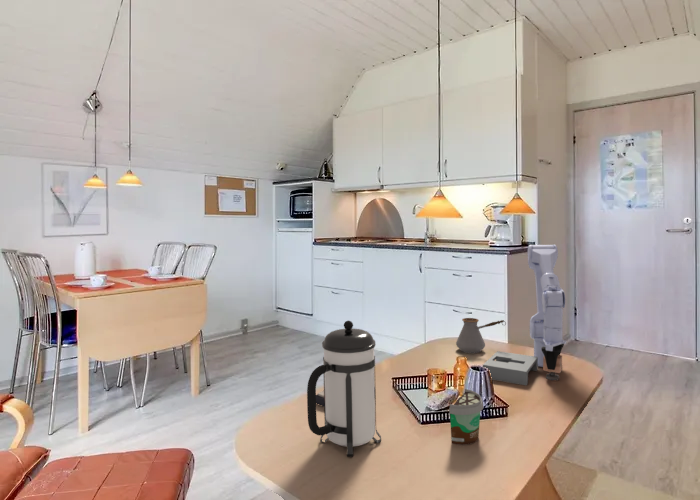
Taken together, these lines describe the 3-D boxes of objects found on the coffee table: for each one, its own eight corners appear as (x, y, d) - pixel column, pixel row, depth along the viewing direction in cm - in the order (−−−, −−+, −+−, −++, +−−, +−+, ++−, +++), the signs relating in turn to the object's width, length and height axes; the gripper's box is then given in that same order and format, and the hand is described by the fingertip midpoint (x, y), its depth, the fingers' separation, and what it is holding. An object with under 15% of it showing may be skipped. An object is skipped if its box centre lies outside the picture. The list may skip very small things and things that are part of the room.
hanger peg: (545, 374, 153) (546, 353, 153) (562, 377, 151) (562, 355, 150) (543, 379, 149) (543, 357, 149) (559, 382, 146) (559, 359, 146)
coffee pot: (450, 350, 184) (449, 314, 183) (467, 345, 191) (467, 310, 190) (496, 362, 167) (496, 323, 166) (513, 356, 174) (513, 318, 173)
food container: (475, 452, 104) (475, 410, 103) (449, 446, 107) (449, 405, 106) (489, 430, 114) (489, 392, 113) (465, 425, 117) (465, 388, 117)
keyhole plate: (497, 363, 167) (497, 351, 166) (537, 369, 159) (537, 356, 159) (482, 377, 152) (482, 364, 151) (526, 385, 144) (526, 371, 144)
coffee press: (321, 426, 118) (318, 314, 116) (382, 428, 116) (380, 314, 114) (308, 462, 101) (304, 330, 99) (379, 465, 99) (377, 331, 97)
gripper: (562, 332, 140) (562, 375, 141) (569, 323, 153) (569, 362, 153) (538, 330, 144) (538, 371, 145) (547, 321, 156) (546, 359, 157)
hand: (552, 366), depth 150 cm, fingers closed on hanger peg, 5 cm apart
